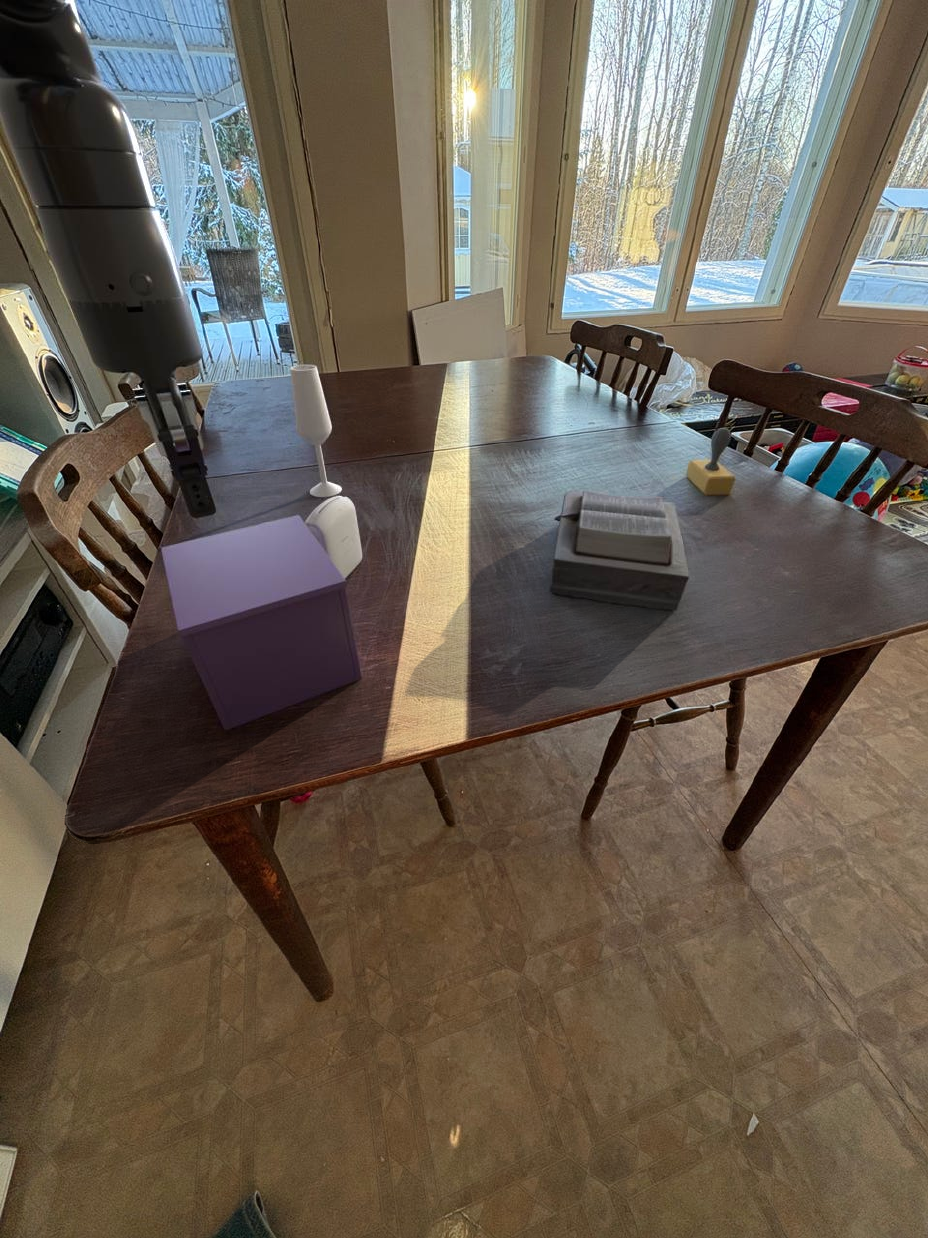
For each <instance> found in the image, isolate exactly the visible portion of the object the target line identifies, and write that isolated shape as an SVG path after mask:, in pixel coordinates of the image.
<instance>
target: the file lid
mask: <svg viewBox="0 0 928 1238" xmlns="http://www.w3.org/2000/svg"><path fill="white" fill-rule="evenodd" d="M160 551H161V556H162V562H163V566H164V570H165V574H166V581H167V584H168V589H169V594H170V599H171V605H172V608H173V613H174V618H175V623H176V628H177V632H178V634H179V637H180V638H182V637H183V636H186V635H189V634H193V633H196V632H199V631H202V630H206V629H209V628H212V627H216V626H219V625H222V624H226V623H229V622H232V621H235V620H239V619H242V618H245V617H249V616H252V615H255V614H259V613H262V612H265V611H268V610H272V609H275V608H278V607H282V606H285V605H288V604H292V603H295V602H298V601H301V600H305V599H308V598H311V597H315V596H318V595H321V594H325V593H328V592H331V591H334V590H338V589H341V588H344V587H345V588H347V587H348V584H347V580H346V578H345V579H344V577H343V576H342V574H341V573H340V572H339V570H338V569H337V567H336V566H335V565H334V563H333V562H332V560H331V559H330V558H329V556H328V555H327V553H326V552H325V551H324V549H323V548H322V547H321V545H320V544H319V542H318V541H317V540H316V538H315V537H314V535H313V534H312V533H311V531H310V530H309V528H308V527H307V526H306V524H305V521H304V520H303V519H302V517H301V516H300V515H299V514H296V515H292V516H288V517H284V518H279V519H276V520H270V521H268V522H267V521H266V522H262V523H259V524H255V525H250V526H245V527H242V528H237V529H234V530H233V529H232V530H229V531H225V532H220V533H216V534H212V535H207V536H203V537H199V538H194V539H191V540H187V541H186V540H185V541H182V542H178V543H174V544H170V545H166V546H161V547H160Z"/></svg>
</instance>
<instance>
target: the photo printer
mask: <svg viewBox="0 0 928 1238" xmlns="http://www.w3.org/2000/svg"><path fill="white" fill-rule="evenodd" d="M357 518H358V517H357V512H356V507H355V504H354V503H353V501H352V500H351V499H350V498H349V497H347V496H342V495H335V496H331V497H329V498H327V499H326V500H324V501H323V502H321V503H320V504H319V505H318V506H317V507H316V508H315V509H313V510H312V512H311V513H310V514H309V515H308V517H307V518H306V519H305V521H304V523H305V524H306V526H307V527H308V528H309V530H310V531H311V533H312V534H313V535H314V537H315V538H316V540H317V541H318V542H319V544H320V545H321V547H322V548H323V549H324V551H325V552H326V553H327V555H328V556H329V558H330V559H331V560H332V562H333V563H334V565H335V566H336V567H337V569H338V570H339V572H340V573H341V574H342V576H343V577H344V579H345V580H346V579H347V577H348V576H349V575H350V574H351V573H352V572H353V571H354V570H355V569H356V568H357V566H358V565H360V563H361V562H362V560H363V551H362V544H361V536H360V531H359V525H358V524H359V523H358V519H357Z"/></svg>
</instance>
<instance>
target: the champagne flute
mask: <svg viewBox="0 0 928 1238" xmlns="http://www.w3.org/2000/svg"><path fill="white" fill-rule="evenodd" d="M289 370H290V371H289V372H290V380H291V388H292V389H291V390H292V399H293V407H294V408H293V409H294V416H295V417H294V418H295V426H296V427H295V428H296V432H297V434H298V435H299V436H300V437H301V438H302V439H303V440H304V441H306V442H307V443H309V444H310V445H312V446H314V449H315V455H316V459H317V460H316V461H317V466H318V471H319V476H320V477H319V478H320V482H318V484H316V485H314V486H313V487H312V488H311V489H310V490H309V494H310V495H311V496H313V497H316V498H331V497H335V496H337V495H338V494H340V493H341V492H342V490H343V488H342V486H340V485H339V484H336V483H333V482H331V481H328V479H327V474H326V473H327V472H326V468H325V467H326V466H325V462H324V457H323V452H322V447H321V446H322V445H323V444H324V443H325V442H326V441H327V439H328V438H329V436H330V435H331V433H332V429H333V425H332V422H331V418H330V414H329V410H328V406H327V402H326V398H325V394H324V391H323V386H322V383H321V379H320V375H319V371H318V367H317V365H314V364H297V365H293V366H291V367H289Z"/></svg>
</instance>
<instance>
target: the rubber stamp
mask: <svg viewBox="0 0 928 1238" xmlns="http://www.w3.org/2000/svg"><path fill="white" fill-rule="evenodd" d="M731 438H732V435H731V431H730V430H729V429H728V428H726V427H721V428H718V429H716V430H714V433H713V434H712V436H711V440H710V447H711V459H691V460H690V461H688V465H687V470H686V473H685V476H686V477H687V478H688V479H689V480H690V481H691V482H692V484H694V485H695V486H696V487H697V489H698V490H700V491H701V492H702V493H703V494H704V495H705V496H720V495H721V496H723V495H730V494H731V493H732V490H733V487H734V485H735V481H736V476H734V474H733V473H731V472H730V471H729V470H728V469H726V468H725V467H724V466H723V465H722V464H721V463H719V458H720V456H721V455H722V454H723V452H724V451H725V450H726V449H727V447H728V446H729V444H730V442H731Z"/></svg>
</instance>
